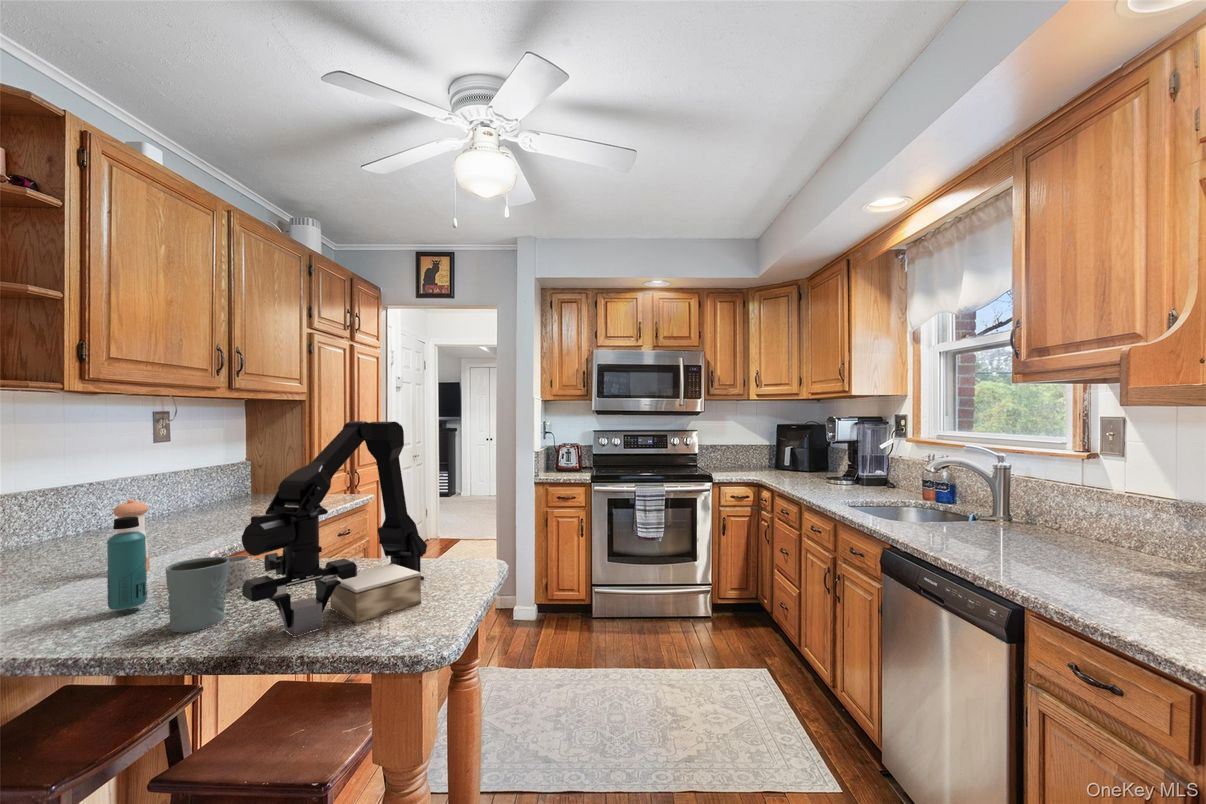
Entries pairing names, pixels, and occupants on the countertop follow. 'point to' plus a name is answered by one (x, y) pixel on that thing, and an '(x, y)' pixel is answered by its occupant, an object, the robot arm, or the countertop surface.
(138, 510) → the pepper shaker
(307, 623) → the block
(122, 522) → the beverage bottle
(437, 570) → the countertop surface
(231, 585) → the mug
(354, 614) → the box
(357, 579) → the lid
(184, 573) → the gray green planter pot
